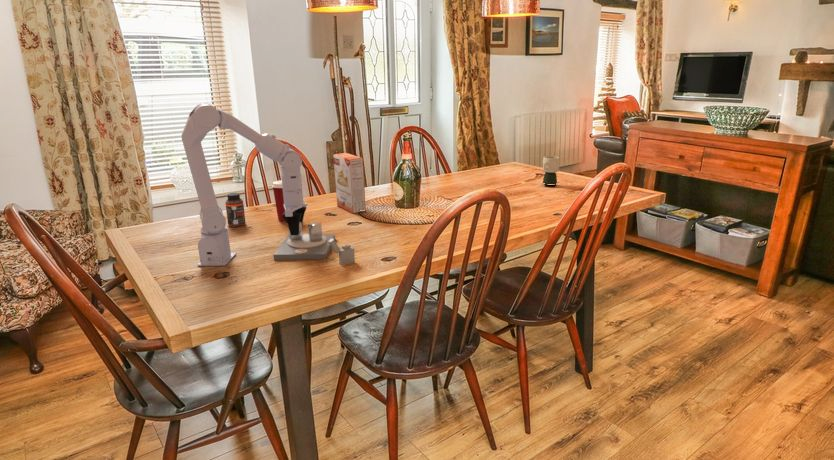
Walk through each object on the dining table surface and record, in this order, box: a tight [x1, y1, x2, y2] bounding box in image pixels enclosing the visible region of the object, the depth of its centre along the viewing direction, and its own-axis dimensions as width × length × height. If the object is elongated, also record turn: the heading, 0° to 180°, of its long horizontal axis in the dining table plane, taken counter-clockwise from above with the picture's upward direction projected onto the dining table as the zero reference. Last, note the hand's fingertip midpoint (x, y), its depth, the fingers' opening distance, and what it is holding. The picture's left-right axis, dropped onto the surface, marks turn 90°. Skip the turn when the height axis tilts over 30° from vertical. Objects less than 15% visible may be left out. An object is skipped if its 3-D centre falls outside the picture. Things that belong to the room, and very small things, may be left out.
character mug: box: [542, 155, 561, 184], centre depth 231 cm, size 11×7×13 cm, turn 133°
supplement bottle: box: [225, 192, 246, 228], centre depth 182 cm, size 6×6×11 cm
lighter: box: [328, 239, 356, 266], centre depth 145 cm, size 7×2×8 cm, turn 124°
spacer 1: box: [287, 221, 303, 240], centre depth 159 cm, size 4×4×5 cm
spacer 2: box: [307, 222, 323, 242], centre depth 159 cm, size 4×4×5 cm
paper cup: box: [271, 179, 286, 223], centre depth 188 cm, size 8×8×14 cm
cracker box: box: [333, 152, 367, 214], centre depth 199 cm, size 14×6×21 cm, turn 33°
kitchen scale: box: [272, 233, 336, 261], centre depth 159 cm, size 18×15×2 cm
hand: (296, 232), depth 160 cm, fingers closed on spacer 1, 4 cm apart
